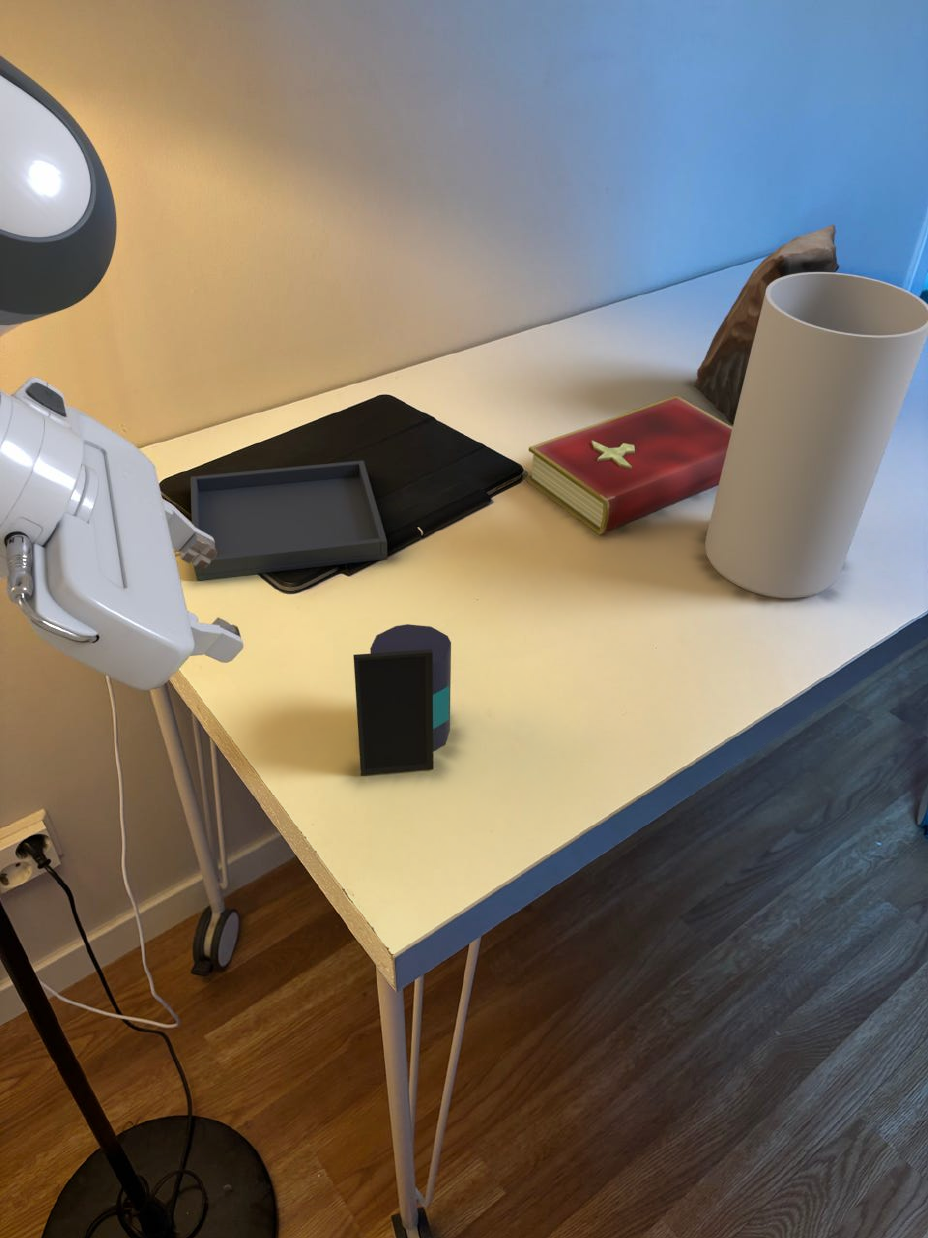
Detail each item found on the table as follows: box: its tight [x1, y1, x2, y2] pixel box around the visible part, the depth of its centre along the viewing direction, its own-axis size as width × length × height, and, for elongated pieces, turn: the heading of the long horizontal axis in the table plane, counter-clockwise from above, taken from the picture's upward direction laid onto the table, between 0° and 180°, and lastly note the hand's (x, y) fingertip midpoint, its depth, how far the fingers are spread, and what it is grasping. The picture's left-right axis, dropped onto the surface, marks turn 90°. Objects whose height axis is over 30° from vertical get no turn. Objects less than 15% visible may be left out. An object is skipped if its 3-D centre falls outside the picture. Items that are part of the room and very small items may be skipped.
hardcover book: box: [525, 394, 733, 536], centre depth 99 cm, size 12×21×4 cm, turn 125°
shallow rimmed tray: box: [190, 460, 388, 582], centre depth 91 cm, size 17×14×2 cm
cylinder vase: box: [704, 272, 928, 599], centre depth 82 cm, size 12×12×25 cm
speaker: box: [352, 623, 452, 777], centre depth 68 cm, size 8×6×10 cm
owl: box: [693, 224, 840, 425], centre depth 106 cm, size 13×13×20 cm
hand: (222, 598), depth 59 cm, fingers open, 8 cm apart
